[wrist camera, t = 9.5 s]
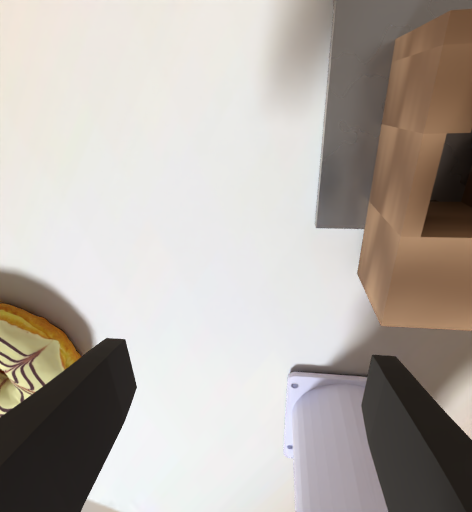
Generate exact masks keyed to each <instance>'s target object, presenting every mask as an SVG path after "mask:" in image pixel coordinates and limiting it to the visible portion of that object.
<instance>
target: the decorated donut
mask: <svg viewBox="0 0 472 512" xmlns="http://www.w3.org/2000/svg"><path fill="white" fill-rule="evenodd" d="M79 358H81V355H80V354H79V353H78V352H77V351H76V349H75V347H74V346H73V344H72V342H71V341H70V340H69V339H68V337H67V336H66V334H65V333H64V332H63V331H62V330H60V329H59V328H57V327H55V326H54V325H52V324H50V323H49V322H48V320H46V319H45V318H43V317H38V316H36V315H33V314H31V313H29V312H27V311H26V310H23V309H20V308H16V307H15V306H12V305H8V304H4V303H0V417H1V416H2V415H4V414H5V413H7V412H8V411H9V410H11V409H12V408H14V407H15V406H17V405H18V404H19V403H21V402H22V401H24V400H25V399H26V398H28V397H29V396H31V395H32V394H33V393H35V392H36V391H38V390H39V389H40V388H41V387H43V386H44V385H45V384H47V383H48V382H49V381H51V380H52V379H53V378H55V377H56V376H57V375H59V374H60V373H61V372H63V371H64V370H65V369H66V368H68V367H69V366H70V365H72V364H73V363H74V362H76V361H77V360H78V359H79Z"/></svg>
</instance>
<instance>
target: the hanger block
mask: <svg viewBox="0 0 472 512" xmlns="http://www.w3.org/2000/svg"><path fill="white" fill-rule="evenodd" d="M471 130H472V9H462V10H450V11H448V12H447V13H445V14H443V15H441V16H439V17H437V18H435V19H433V20H431V21H429V22H427V23H426V24H424V25H422V26H420V27H418V28H416V29H414V30H412V31H410V32H408V33H406V34H405V35H403V36H401V37H399V38H397V39H395V45H394V52H393V58H392V64H391V70H390V76H389V82H388V88H387V94H386V101H385V107H384V113H383V119H382V125H381V131H380V137H379V143H378V150H377V156H376V162H375V168H374V174H373V180H372V186H371V192H370V199H369V205H368V211H367V217H366V223H365V229H364V235H363V241H362V248H361V254H360V260H359V266H358V272H357V274H358V276H359V279H360V281H361V283H362V285H363V287H364V290H365V292H366V294H367V296H368V298H369V301H370V303H371V305H372V307H373V309H374V312H375V314H376V316H377V318H378V320H379V323H380V325H381V326H391V327H410V328H430V329H449V330H468V331H472V167H471V170H470V173H469V177H468V180H467V183H466V187H465V190H464V193H463V197H462V200H461V202H430V198H431V194H432V190H433V186H434V182H435V178H436V174H437V170H438V166H439V162H440V158H441V155H442V151H443V147H444V143H445V139H446V135H447V133H471Z"/></svg>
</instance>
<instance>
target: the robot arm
mask: <svg viewBox="0 0 472 512" xmlns="http://www.w3.org/2000/svg"><path fill="white" fill-rule="evenodd" d="M293 383H296V384H293ZM136 388H137V386H136V382H135V377H134V373H133V369H132V365H131V361H130V357H129V353H128V349H127V345H126V341H125V339H112V338H106V339H105V340H103V341H102V342H100V343H99V344H98V345H96V346H95V347H94V348H92V349H91V350H90V351H88V352H87V353H86V354H85V355H83V356H82V357H81V358H79V359H78V360H77V361H76V362H74V363H73V364H72V365H70V366H69V367H68V368H66V369H65V370H64V371H63V372H61V373H60V374H59V375H57V376H56V377H55V378H53V379H52V380H51V381H49V382H48V383H47V384H45V385H44V386H43V387H41V388H40V389H39V390H38V391H36V392H35V393H33V394H32V395H31V396H29V397H28V398H26V399H25V400H24V401H22V402H21V403H19V404H18V405H17V406H15V407H14V408H12V409H11V410H9V411H8V412H7V413H5V414H4V415H2V416H1V417H0V512H81V510H82V507H83V505H84V503H85V501H86V499H87V497H88V495H89V493H90V491H91V489H92V487H93V485H94V483H95V481H96V479H97V477H98V475H99V473H100V471H101V469H102V467H103V465H104V463H105V461H106V459H107V457H108V455H109V453H110V451H111V449H112V447H113V444H114V442H115V440H116V438H117V436H118V434H119V432H120V430H121V428H122V426H123V424H124V422H125V419H126V416H127V414H128V411H129V408H130V406H131V403H132V400H133V397H134V394H135V391H136ZM284 456H285V457H287V458H293V465H294V490H295V512H472V440H471V439H470V438H469V437H468V436H467V435H466V433H465V432H464V431H463V430H462V429H461V428H460V427H459V426H458V425H457V424H456V423H455V422H454V421H453V420H452V419H451V418H450V417H449V415H448V414H447V413H446V412H445V411H444V410H443V409H442V408H441V407H440V406H439V405H438V403H437V402H436V401H435V400H434V399H433V398H432V397H431V396H430V395H429V393H428V392H427V391H426V390H425V389H424V388H423V387H422V386H421V384H420V383H419V382H418V381H417V380H416V379H415V378H414V377H413V375H412V374H411V373H410V372H409V371H408V370H407V369H406V367H405V366H404V365H403V364H402V363H401V362H400V361H399V360H398V359H397V357H396V356H382V355H372V358H371V363H370V367H369V372H368V376H367V377H361V376H347V375H333V374H319V373H305V372H291V373H290V374H289V375H288V383H287V399H286V416H285V433H284Z"/></svg>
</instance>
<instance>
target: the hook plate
mask: <svg viewBox="0 0 472 512" xmlns="http://www.w3.org/2000/svg"><path fill="white" fill-rule="evenodd" d="M462 9H472V0H334V10H333V22H332V33H331V45H330V56H329V68H328V79H327V91H326V102H325V114H324V125H323V137H322V149H321V160H320V172H319V183H318V195H317V206H316V218H315V226H316V228H344V229H365V223H366V217H367V211H368V205H369V199H370V192H371V186H372V180H373V174H374V168H375V162H376V156H377V150H378V143H379V137H380V131H381V125H382V119H383V113H384V107H385V101H386V94H387V88H388V82H389V76H390V70H391V64H392V58H393V52H394V45H395V39H397V38H399V37H401V36H403V35H405V34H406V33H408V32H410V31H412V30H414V29H416V28H418V27H420V26H422V25H424V24H426V23H427V22H429V21H431V20H433V19H435V18H437V17H439V16H441V15H443V14H445V13H447V12H448V11H450V10H462ZM471 167H472V130H471V133H447V135H446V139H445V143H444V147H443V151H442V155H441V158H440V162H439V166H438V170H437V174H436V178H435V182H434V186H433V190H432V194H431V198H430V202H461V200H462V197H463V193H464V190H465V187H466V183H467V180H468V177H469V173H470V170H471Z"/></svg>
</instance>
